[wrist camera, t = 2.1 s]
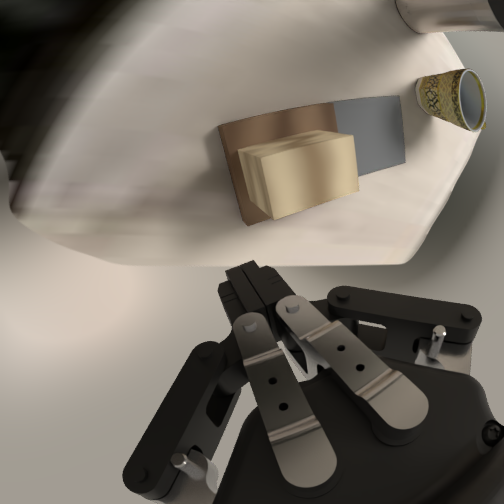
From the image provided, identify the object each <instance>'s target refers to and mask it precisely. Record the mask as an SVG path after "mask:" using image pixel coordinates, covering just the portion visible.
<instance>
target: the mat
mask: <svg viewBox="0 0 504 504" xmlns="http://www.w3.org/2000/svg"><path fill="white" fill-rule="evenodd" d="M328 103H333V104H334V110H335V116H336V122H337V128H338V133H341V134H348V135H353V137H354V145H355V153H356V162H357V172H358V176H361V175H364V174H368V173H371V172H375V171H378V170H381V169H385V168H388V167H392V166H395V165H399V164H402V163H406V162H405V145H404V133H403V122H402V113H401V105H400V98H399V96H383V97H371V98H360V99H351V100H343V101H335V102H328Z"/></svg>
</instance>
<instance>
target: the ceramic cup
mask: <svg viewBox="0 0 504 504" xmlns="http://www.w3.org/2000/svg"><path fill="white" fill-rule="evenodd" d="M415 91H416V96H417V102H418V104H419V106H420V107H421V108H422V109H423V110H424V111H425V112H426V113H427V114H429V115H432V116H435V117H438V118H440V119H443V120H445V121H448V122H451V123H453V124H455V125H457V126H459V127H461V128H464V129H466V130H469V131H472V132H477V131H479V130H480V129H485V128H486V123H485V118H486V110H487V102H486V95H485V90H484V87H483V84H482V81H481V79H480V78H479V76H478V75H477V73H476V72H475V71H474V70H472V69H460V70H454V71H449V72H446V73H442V74H437V75H431V76H425V77H421V78H419V79H418V82H417V85H416V87H415Z"/></svg>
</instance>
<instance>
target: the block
mask: <svg viewBox="0 0 504 504" xmlns="http://www.w3.org/2000/svg"><path fill="white" fill-rule="evenodd" d="M238 154H239V158H240V162H241V166H242V170H243V174H244V178H245V182H246V186H247V190H248V194H249V198H250V201H252V202H253V203H254V204H255V205H256V206H258V207H259V208H260V209H261V210H262V211H264V212H265V213H266V214H267V215H268V216H270V217H271V218H272V219H273V220H276V219H279V218H282V217H285V216H288V215H290V214H293V213H296V212H299V211H302V210H305V209H308V208H311V207H313V206H316V205H319V204H322V203H325V202H328V201H331V200H334V199H337V198H340V197H343V196H346V195H349V194H352V193H355V192H358V191H359V182H358V172H357V162H356V153H355V145H354V137H353V135H348V134H341V133H335V132H328V131H320V130H315V131H310V132H306V133H301V134H297V135H293V136H288V137H284V138H280V139H276V140H272V141H268V142H264V143H261V144H257V145H253V146H249V147H246V148H242V149H239V150H238Z"/></svg>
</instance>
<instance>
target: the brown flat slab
mask: <svg viewBox="0 0 504 504" xmlns="http://www.w3.org/2000/svg"><path fill="white" fill-rule="evenodd" d="M218 128H219V132H220V136H221V140H222V144H223V147H224V151H225V155H226V159H227V163H228V166H229V170H230V174H231V178H232V182H233V185H234V189H235V193H236V197H237V201H238V204H239V208H240V212H241V216H242V220H243V221H244V223H245V224H246V225H247V226H250V225H253V224H256V223H258V222H261V221H264V220H267V219H270V218H271V217H270V216H268V215H267V214H266V213H265V212H264V211H262V210H261V209H260V208H259V207H258V206H256V205H255V204H254V203H253V202H252V201H250V198H249V194H248V190H247V186H246V182H245V178H244V174H243V170H242V166H241V162H240V158H239V154H238V150H239V149H242V148H246V147H249V146H253V145H257V144H261V143H264V142H268V141H272V140H276V139H280V138H284V137H288V136H293V135H297V134H301V133H306V132H310V131H315V130H320V131H328V132H335V133H338V128H337V122H336V116H335V110H334V104H333V103H321V104H315V105H309V106H303V107H297V108H292V109H287V110H282V111H277V112H272V113H267V114H263V115H258V116H254V117H250V118H246V119H242V120H238V121H234V122H230V123H226V124H222V125H219V126H218Z"/></svg>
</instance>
